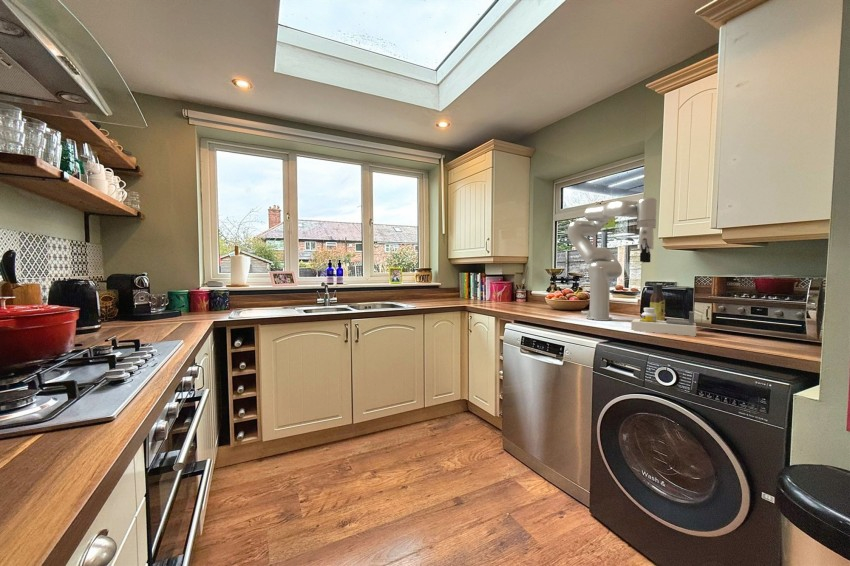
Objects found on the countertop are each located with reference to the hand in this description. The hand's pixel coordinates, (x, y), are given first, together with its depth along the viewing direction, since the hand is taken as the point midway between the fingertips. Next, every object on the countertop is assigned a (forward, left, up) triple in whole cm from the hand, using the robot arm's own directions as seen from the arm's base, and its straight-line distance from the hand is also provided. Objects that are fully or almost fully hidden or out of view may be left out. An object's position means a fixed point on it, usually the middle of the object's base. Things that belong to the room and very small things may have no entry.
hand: (645, 262), depth 159 cm
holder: (+8, -11, -30) cm, 33 cm away
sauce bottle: (+4, +18, -31) cm, 36 cm away
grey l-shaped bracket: (+14, -11, -26) cm, 31 cm away
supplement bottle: (+3, -11, -31) cm, 33 cm away
